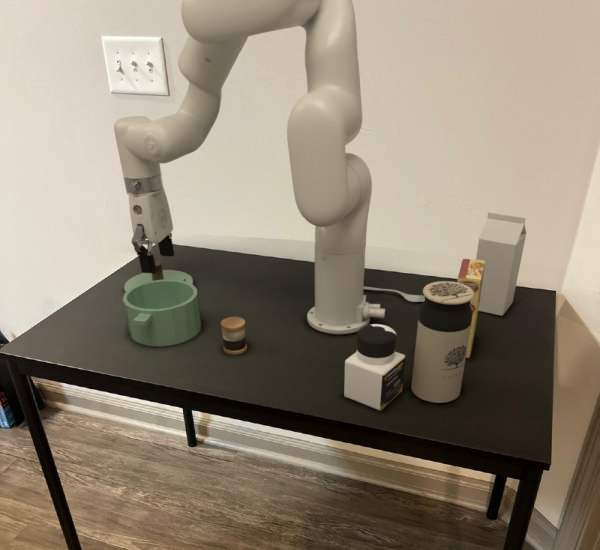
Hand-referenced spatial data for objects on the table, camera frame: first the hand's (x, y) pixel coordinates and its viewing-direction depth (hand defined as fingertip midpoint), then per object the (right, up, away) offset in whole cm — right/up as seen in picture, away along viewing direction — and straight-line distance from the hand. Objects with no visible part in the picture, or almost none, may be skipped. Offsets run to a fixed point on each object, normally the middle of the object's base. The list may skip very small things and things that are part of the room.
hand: (158, 263), depth 133 cm
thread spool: (+19, -20, -20) cm, 34 cm away
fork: (+50, -7, -1) cm, 50 cm away
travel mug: (+54, -28, -32) cm, 69 cm away
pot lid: (-1, -4, +3) cm, 5 cm away
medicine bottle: (+43, -29, -32) cm, 61 cm away
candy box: (+61, -20, -20) cm, 67 cm away
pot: (+4, -16, -13) cm, 21 cm away
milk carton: (+71, -10, -7) cm, 72 cm away
